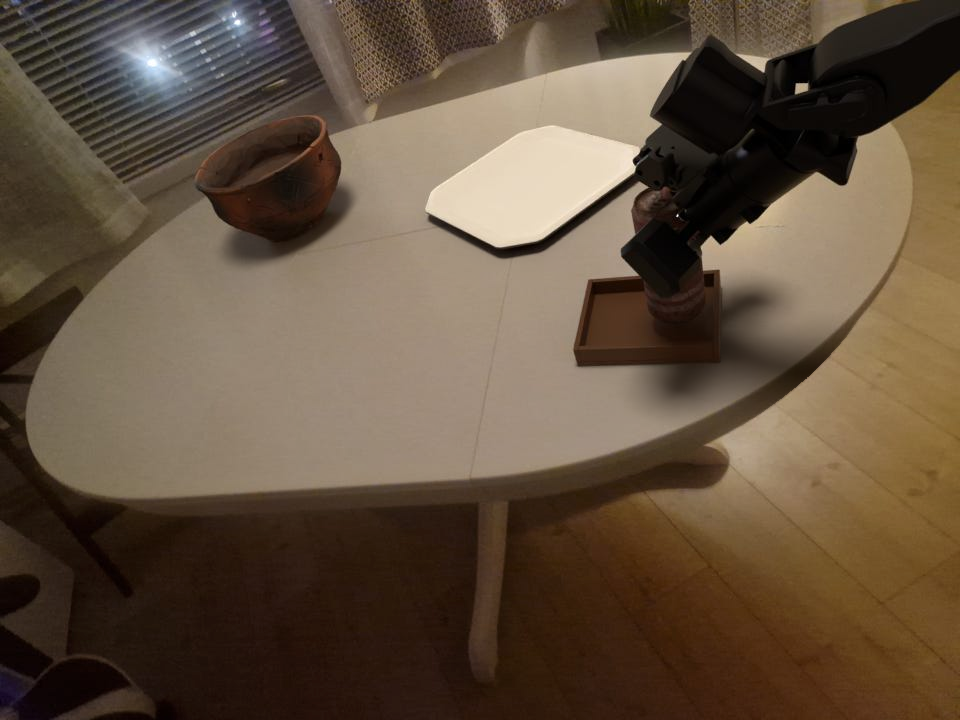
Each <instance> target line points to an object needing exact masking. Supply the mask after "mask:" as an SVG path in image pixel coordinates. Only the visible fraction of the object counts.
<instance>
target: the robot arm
mask: <svg viewBox="0 0 960 720" xmlns="http://www.w3.org/2000/svg"><path fill="white" fill-rule="evenodd" d="M957 73H960V0H915V1H909V2H903V3H898V4H893V5H889V6H887V7H884V8H881V9H879V10H877V11H874V12H872V13H869V14H866V15H864V16H861V17H858V18H856V19H854V20H851V21H848V22H846V23H843V24H841V25H839V26H837V27H834V29H832V30H831V31H829V33H827V34H826V35H824V36H823V37H822V38H821V40H819V42H818V43H814V44H811V45H809V46H805V47H802V48H800V49H797V50H794V51H791V52H787V53H784V54H782V55H779V56H775V57H773V58H770V59H768V60H766V62H765V65H764V71H762V70H760V69H759V68H757V67H756V66H754V65H753V64H751V63H750V62H748V61H747V60H745V59H743V58H742V57H741V56H739V55H737V54H736V53H735V52H733V51H732V50H731V49H730V48H729V47H728V46H727V44H725V43H724V42H723V41H722V40H720V39H719V38H717V37H715V36H714V35H712V34H710V35H706V37H705V39H703V41H702V43H701V44H700V45H699V47H695V49H693V51H692V52H691V53H690V54H689V55H688V56H687V57H686V59H682V60H681V61H680V62H679V64H677V66H676V68H675V69H674V70H673V72H672V73H671V74H670V77H669V78H668V79H667V81H666V83H665V84H664V86H663V88H662V89H661V90H660V93H659V94H658V96H657V98H656V100H655V102H654V104H653V106H652V108H651V110H650V113H649V118H652V119H653V120H654V121H656V122H658V123H659V124H660V125H659V126H658V127H657V128H656V129H655V130H654V131H653V132H651V133H650V134H649V136H647V137H646V138H645V140H644V144H643V146H642V147H641V148H640V152H639V154H638V155H637V156H636V157H635V158H634V159H633V164H634V165H635V166H636V168H635V172H634V175H633V176H634V177H635V179H636V181H638V182H639V183H641V184H642V185H644V186H646V188H651V189H652V190H654V191H661V190H662V189H663V188H664V187H667V188H669V189H671V190H675V191H679V192H678V193H677V194H676V195H675V196H674V197H673V198H672V199H671V201H672V202H673V203H674V204H675V205H676V206H677V207H678V208H679V209H682V210H681V211H680V212H679V213H678V214H677V216H676V217H677V219H678V220H679V221H680V222H681V223H683V224H684V223H685V222H686V221H687V220H688V221H689V223H688V224H687V225H686V226H685V227H684V228H683V229H682V230H681V231H679V230H678V229H677V228H675V229H674V230H673V229H672V228H671V227H670V226H669V224H668V223H667V222H666V221H663V220H658V219H655V218H652V219H651V220H650V221H649V222H648V223H647V224H646V225H645V226H644V227H643V228H642V229H641V230H640V231H639V232H637V233H636V234H635V233H634V235H633V236H631V238H630V239H629V240H628V241H627V242H626V243H625V244H624V245H623V246H622V247H621V248H620V257H621V258H622V259H623V260H624V262H626V264H627V265H628V266H629V267H630V268H631V269H632V270H633V271H634V272H635V273H636V274H637V276H640V277H641V278H642V279H643V280H644V281H645V282H646V283H647V284H648V285H649V286H650V287H651V288H652V289H653V290H654V291H655V292H656V294H657V295H658V296H659V297H660V298H665V299H669V298H671V297H672V296H674V295H676V294H677V293H679V292H680V291H681V290H682V289H683V288H684V287H685V286H686V285H687V284H688V282H689V281H690V280H691V279H692V278H693V277H694V276H695V275H696V274H697V273H698V272H699V271H700V269H701V262H700V258H701V256H702V257H703V250H702V246H703V245H704V244H705V243H706V242H707V241H708V239H709V238H710V237H712V238H713V240H714V241H715V242H716V243H717V244H718V245H719V246H722V245H723V244H724V243H725V242H727V241H729V239H730V238H731V237H733V235H734V234H735V233H736V231H737V230H738V229H739V228H740V227H742V226H743V225H744V224H746V223H748V224H749V225H751V224H753V223H754V222H756V221H757V220H759V219H760V218H761V216H762V215H763V214H764V213H765V212H766V211H767V210H768V209H769V207H770V206H771V205H772V204H774V203H775V202H777V201H778V200H779V199H781V198H782V197H784V196H785V195H786V194H788V193H790V191H792V190H794V189H795V188H796V187H797V186H799V185H800V184H802V183H803V182H805V181H806V180H807V179H809V178H810V177H812V176H813V175H814V174H816V173H818V174H820V175H822V176H823V177H825V178H827V179H828V180H829V181H831V182H832V183H834V184H836V185H837V186H839V187H845V186H846V185H847V184H848V183H849V181H850V177H851V173H852V171H853V167H854V164H855V161H856V157H857V154H858V147H857V143H858V139H859V137H864V136H866V135H869V134H872V133H874V132H875V131H878V130H879V129H881V128H883V127H885V126H886V125H888V124H889V123H891V122H893V121H894V120H896V119H898V118H899V117H901V116H903V115H904V114H906V113H908V112H910V111H911V110H913V109H914V108H916V107H918V106H919V105H922V104H923V103H924V102H926V101H927V99H929V98H930V97H931V96H932V95H933V94H934V93H936V91H938V90H939V89H940V88H941V87H942V86H943V85H945V84H946V83H947V82H949V80H951V78H952V77H953V76H955V75H956V74H957ZM797 84H807V90H805V91H802V92H798V93H796V89H797ZM697 231H699V232H698V233H697V235H695V237H694V238H692V240H691V241H689V239H690V238H691V237H692V236H693V235H694V234H695V233H696V232H697ZM690 243H691V245H689V244H690Z"/></svg>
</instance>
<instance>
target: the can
mask: <svg viewBox="0 0 960 720" xmlns="http://www.w3.org/2000/svg"><path fill="white" fill-rule="evenodd" d="M678 192H679V191H675V190H671V189H669V188H667V187H664V188H663V189H662V190H661V191H654V190H652V189H651V188H649V187H646V188H644V189H643V190H642V191H640V192H639V193H638V194H637V195H636V196H635V197H634V200H633V205H632V207H631V210H630V213H631V218H632V224H633V229H634V230H633V231H634V235H635V234H636V233H637V232H639V231H640V230H641V229H642V228H643V227H644V226H645V225H646V224H647V223H648V222H649V221H650V220H651V219H652V218H655V219H658V220H663V221H666V222H667V223H668V224H669V226H670V227H671V228H672V229H673V230H674V229H675V228H677V229H678V230H679V231H681V230H682V229H683V228H684V227H685V226H686V225H687V224H688V223H689V221H688V220H687V221H686V222H685V223H684V224H683V223H681V222H680V221H679V220H678V219H677V217H676V216H677V214H678V213H679V212H680V211H681V210H682V209H679V208H678V207H677V206H676V205H675V204H674V203H673V202H672V201H671V199H672V198H673V197H674V196H675V195H676V194H677V193H678ZM698 232H699V231H697V232H696V233H695V234H694V235H693V236H692V237H691V238H690V239H689V241H691V240H692V238H694V237H695V235H697V233H698ZM689 245H691V243H690V244H689ZM700 262H701V269H700V271H699V272H698V273H697V274H696V275H695V276H694V277H693V278H692V279H691V280H690V281H689V282H688V284H687V285H686V286H685V287H684V288H683V289H682V290H681V291H680V292H679V293H677V294H676V295H674V296H672V297H671V298H669V299H665V298H660V297H659V296H658V295H657V294H656V292H655V291H654V290H653V289H652V288H651V287H650V286H649V285H648V284H647V283H646V282H645V281H644V280H643V282H644V288H645V294H646V299H647V305H648V311H649V312H650V314H651V315H652V316H653V317H655V318H656V319H658V320H659V321H661V322H664V323H668V324H678V323H684V322H687V321H689V320H692V319H693V318H695V317H696V316H697V315H698V314H699V313H700V312H701V310H702V309H703V308H704V306H705V302H706V296H705V286H704V275H703V271H704V266H703V255H702V256H701V258H700Z"/></svg>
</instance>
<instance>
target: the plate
mask: <svg viewBox="0 0 960 720" xmlns="http://www.w3.org/2000/svg"><path fill="white" fill-rule="evenodd" d="M640 149H641V148H640V147H639V146H637V145H634V144H629V143H626V142H620V141H619V140H618V141H617V140H613V139H609V138H606V137H602V136H597V135H595V134H590V133H586V132H582V131H578V130H575V129H571V128H567V127H564V126H563V127H562V126H559V125H554V124H551V125H545V126H541V127H537V128H532V129H528V130H524V131H520V132H518V133H517V134H515V135H513V136H512V137H511V138H509V139H508V140H506V141H505V142H503V143H502V144H500V145H498V146H497V147H495V148H494V149H492V150H490V151H489V152H488V153H486V154H484V155H483V156H482V157H480V158H478V159H477V160H475V161H474V162H473V163H471V164H469V165H468V166H466V167H465V168H463V169H462V170H460V171H458V172H457V173H455V174H454V175H452V176H451V177H449V178H448V179H447V180H445V181H443V182H442V183H440V184H439V185H437V186H436V187H434V188H433V189H432V190H431V192H430V193H429V197H428V200H427V202H426V204H425V208H424V210H425V213H426V214H427V215H429V216H431V217H434V218H435V219H437V220H439V221H441V222H443V223H445V224H447V225H448V226H451V227H453V228H455V229H457V230H459V231H461V232H463V233H465V234H467V235H468V236H471V237H473V238H474V239H477V240H479V241H480V242H483V243H484V244H486V245H488V246H490V247H492V248H494V249H496V250H506V249H507V250H508V249H512V248H517V247H524V246H530V245H535V244H539V243H542V242H544V241H545V240H546V239H548V238H549V237H550V236H552V235H553V234H555V233H556V232H557V231H559V230H560V229H562V228H564V226H566V225H567V224H569V222H572V221H573V220H574V219H576V217H578V216H579V215H581V214H582V213H584V212H585V211H586V210H588V209H589V208H591V207H592V206H593V205H594V204H596V203H597V202H599V201H600V200H602V199H603V198H604V197H606V196H607V195H609V194H610V193H612V191H614V190H615V189H616V188H618V187H619V186H621V185H622V184H624V183H625V182H626V181H628V180H629V179H631V177H633V176H635V175H634V172H635V168H636V166H635V165H634V164H633V159H634V158H635V157H636V156H637V155H638V154H639V152H640Z"/></svg>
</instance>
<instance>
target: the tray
mask: <svg viewBox="0 0 960 720" xmlns="http://www.w3.org/2000/svg"><path fill="white" fill-rule="evenodd" d="M703 275H704V286H705V296H706V302H705V306H704V308H703V309H702V310H701V312H700V313H699V314H698V315H697V316H696V317H695V318H693V319H692V320H689V321H687V322H684V323H678V324H668V323H664V322H661V321H659V320H658V319H656V318H655V317H653V316H652V315H651V314H650V312H649V311H648V305H647V299H646V294H645V288H644V282H643V279H642V278H641V277H640V276H639V275H629V276H615V277H603V278H590V279H587V283H586V288H585V293H584V298H583V302H582V307H581V312H580V316H579V319H578V324H577V330H576V333H575V340H574V343H573V349H572V352H573V355H574V358H575V361H576V365H577V366H581V367H582V366H616V365H619V366H620V365H659V364H660V365H661V364H695V363H696V364H697V363H699V364H701V363H720V362H721V329H722V328H721V324H722V323H721V322H722V321H721V319H722V318H721V315H722V314H721V313H722V311H721V310H722V284H721V283H722V282H721V269H708V270H703Z"/></svg>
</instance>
